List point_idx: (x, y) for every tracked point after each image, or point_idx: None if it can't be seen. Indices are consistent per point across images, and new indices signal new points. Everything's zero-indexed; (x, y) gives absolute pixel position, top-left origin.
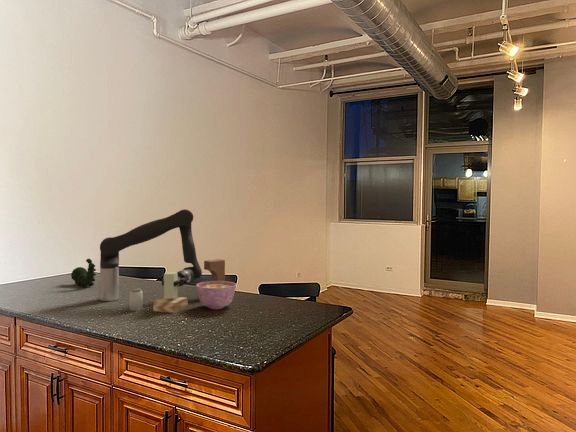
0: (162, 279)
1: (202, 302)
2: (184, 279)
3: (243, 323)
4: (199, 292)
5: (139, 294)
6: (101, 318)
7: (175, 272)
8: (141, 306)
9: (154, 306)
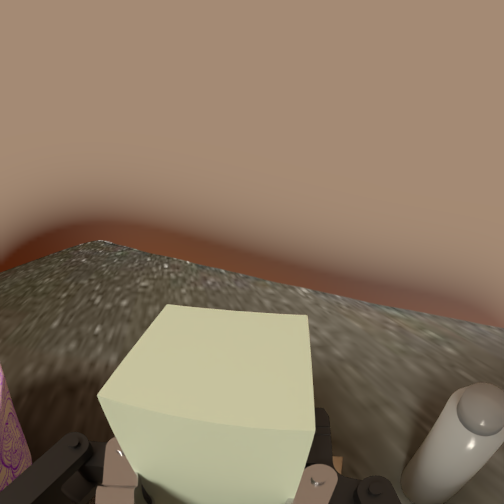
0: (376, 481)
1: (30, 453)
2: (45, 469)
3: (14, 321)
4: (14, 419)
5: (440, 415)
6: (437, 359)
7: (137, 389)
8: (408, 473)
9: None
